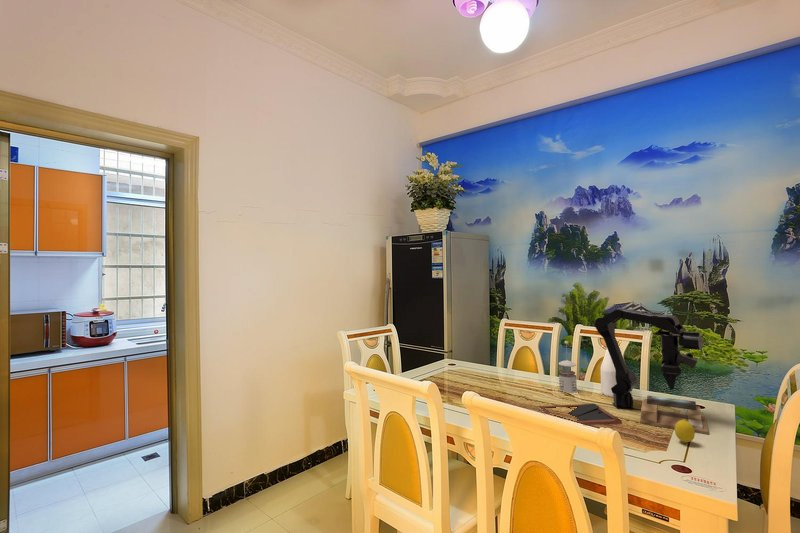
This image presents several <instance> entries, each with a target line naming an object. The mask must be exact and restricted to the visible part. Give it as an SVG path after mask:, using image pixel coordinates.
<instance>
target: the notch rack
mask: <svg viewBox="0 0 800 533" xmlns="http://www.w3.org/2000/svg"><path fill="white" fill-rule="evenodd" d="M658 406H659V405H652V404H647V398H643V399H642V403H641V409H640V418H639V424H640V425H641V424H642V425H647V426H653V427H659V428H664V427H665V428H666V429H672V430H675V425H676V423H677V422H678V421H680V420H683V419H684V420H686V421H688V422H689V423H691V425H692V426H693V428H694V432H695V434H702V435H709V428H708V425H707V424H708V423H707V421H706V420H707V419H706V416H703V415H702V409H701V407H700V406H697V405H696V410H689V409H687V413H682V412H675V411H668V410H661V409H658V408H659V407H658Z"/></svg>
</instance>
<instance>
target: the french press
mask: <svg viewBox="0 0 800 533" xmlns="http://www.w3.org/2000/svg"><path fill="white" fill-rule="evenodd" d="M564 344H565V346H566V353H568V344H569V341H567V340H565V341H564ZM558 365H559V366H560V367H565V369H564V370H560V371H559V373H560V374H558V378H559V379H558V382H559V384H558V386H559V389H560V390H561V391H563V392H567V393H577V392H579V391H578V385H577V375H576V372H575V371H574V370H570V368H572V367H573V368H574V367H576V366H577V364H576V363H575V362H573V361H571V360H568V359H565V360H561V361H559V362H558ZM559 389H558V390H559Z"/></svg>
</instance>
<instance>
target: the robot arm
mask: <svg viewBox="0 0 800 533" xmlns="http://www.w3.org/2000/svg"><path fill="white" fill-rule="evenodd" d="M621 319H622V320H628V321H633V322H638V323H643V324H648V325H650V326H653V327H655V328H657V329H658V330H657V332H655V333H654V335H655V336H660V340H661V341H660V346H661V365H660V371H661V374H662V376H663V378H664V379H665V382H666V384H667V386H668V388H669V389H670V390H672V391H673V390H674V389H675V385H676V379H677V377H680V376H681V374H682V368H681V364H682V365H684V366H687V367H690V368H691V369H695V367H696V366H697V363H698V359H697V358H696V357H694V353H691V352H687V353H686V354H685V353H681V351H680V349H679V348H680V347H682V349H685V350H695V351H702V350H703V346H704V341H703V338H702V335H701V332H700V331H687V330H686V329H685V328H684V327H683V326H682V324H680V320H679V318H678V317H677V316H676V315H674V314H652V313H647V312H646V313H645V312H642V311H641V312H640V311H636V310H630V309H625V308H623V307H619V308H616V309H614V310H613V311H612V312H610V313H608V314H606V315H604V316H602V317H601V316H600V317H598V318H596V319H595V320H594V322H593V325H594V327H595V329H596V331H597V332H598V334H599V335H600V336H601V337H602V338H603V341H604V343H605V345H606V349H608V351H609V354H610V357H611V359H612V362H613V364H614V367H615V370H616V376H615V378H616V383H617V384H616V385H615V386H613V387H612V388H611V390H612V393H613V397H612V398H613V402H612V403H611V404H612V405H613V407H615V408H617V409H619V410H620V409H621V410H622V409H623V410H634V398H633V396H632V391H633V390H634V389H635V388H636V387H637V385H638V380H639V379H638V378H637V377H636V372H635V370H630V369H629V368H628V367H627V364H626V362H625V359H624V357H623V356H624V355H623V354H622V351H621V349H620V346H619V343H618V341H617V338H616V333H615V332H616V330H615V329H616V328H615V323H618V321H620V320H621ZM679 346H680V347H679Z"/></svg>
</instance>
